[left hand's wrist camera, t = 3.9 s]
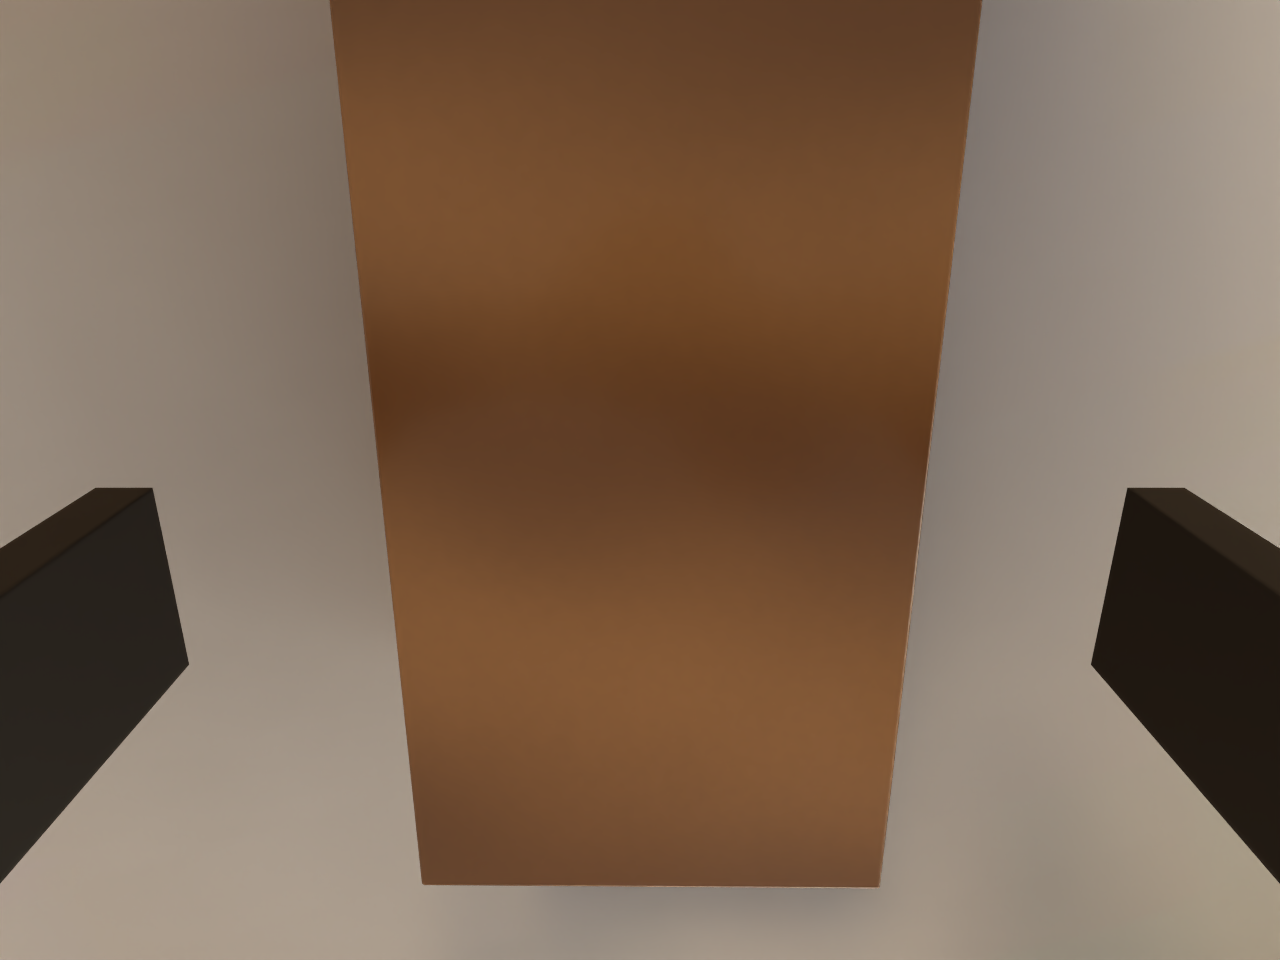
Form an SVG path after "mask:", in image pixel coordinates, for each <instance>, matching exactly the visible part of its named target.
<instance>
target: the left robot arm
mask: <svg viewBox="0 0 1280 960" xmlns="http://www.w3.org/2000/svg"><path fill="white" fill-rule="evenodd" d="M188 665H189V662H188V657H187V652H186V648H185V643H184V638H183V633H182V628H181V623H180V618H179V614H178V609H177V604H176V599H175V594H174V589H173V585H172V580H171V575H170V570H169V565H168V560H167V556H166V551H165V546H164V541H163V536H162V531H161V527H160V522H159V517H158V512H157V507H156V502H155V498H154V493H153V488H95V489H93V490H92V491H90V492H88V493H87V494H85V495H84V496H82V497H81V498H79V499H77V500H76V501H74V502H73V503H71V504H70V505H68V506H66V507H65V508H63V509H62V510H60V511H58V512H57V513H55V514H54V515H52V516H51V517H49V518H47V519H46V520H44V521H43V522H41V523H40V524H38V525H36V526H35V527H33V528H32V529H30V530H29V531H27V532H25V533H24V534H22V535H21V536H19V537H18V538H16V539H14V540H13V541H11V542H10V543H8V544H7V545H5V546H3V547H2V548H0V883H1V882H2V881H3V880H4V878H5V877H6V876H7V875H8V874H9V873H10V872H11V870H12V869H13V868H14V867H15V866H16V865H17V863H18V862H19V861H20V860H21V859H22V858H23V856H24V855H25V854H26V853H27V852H28V851H29V849H30V848H31V847H32V846H33V845H34V844H35V843H36V841H37V840H38V839H39V838H40V837H41V836H42V834H43V833H44V832H45V831H46V830H47V829H48V827H49V826H50V825H51V824H52V823H53V822H54V820H55V819H56V818H57V817H58V816H59V815H60V814H61V812H62V811H63V810H64V809H65V808H66V807H67V805H68V804H69V803H70V802H71V801H72V800H73V798H74V797H75V796H76V795H77V794H78V793H79V792H80V790H81V789H82V788H83V787H84V786H85V785H86V783H87V782H88V781H89V780H90V779H91V778H92V776H93V775H94V774H95V773H96V772H97V771H98V769H99V768H100V767H101V766H102V765H103V764H104V763H105V761H106V760H107V759H108V758H109V757H110V756H111V754H112V753H113V752H114V751H115V750H116V749H117V747H118V746H119V745H120V744H121V743H122V742H123V740H124V739H125V738H126V737H127V736H128V735H129V734H130V732H131V731H132V730H133V729H134V728H135V727H136V725H137V724H138V723H139V722H140V721H141V720H142V718H143V717H144V716H145V715H146V714H147V713H148V711H149V710H150V709H151V708H152V707H153V706H154V705H155V703H156V702H157V701H158V700H159V699H160V698H161V696H162V695H163V694H164V693H165V692H166V691H167V689H168V688H169V687H170V686H171V685H172V684H173V683H174V681H175V680H176V679H177V678H178V677H179V676H180V674H181V673H182V672H183V671H184V670H185V669H186V667H187V666H188ZM1091 665H1092V666H1093V667H1094V669H1095V670H1096V671H1097V672H1098V673H1099V674H1100V676H1101V677H1102V678H1103V679H1104V680H1105V681H1106V683H1107V684H1108V685H1109V686H1110V687H1111V688H1112V689H1113V691H1114V692H1115V693H1116V694H1117V695H1118V696H1119V698H1120V699H1121V700H1122V701H1123V702H1124V703H1125V705H1126V706H1127V707H1128V708H1129V709H1130V710H1131V711H1132V713H1133V714H1134V715H1135V716H1136V717H1137V718H1138V720H1139V721H1140V722H1141V723H1142V724H1143V725H1144V727H1145V728H1146V729H1147V730H1148V731H1149V732H1150V734H1151V735H1152V736H1153V737H1154V738H1155V739H1156V740H1157V742H1158V743H1159V744H1160V745H1161V746H1162V747H1163V749H1164V750H1165V751H1166V752H1167V753H1168V754H1169V756H1170V757H1171V758H1172V759H1173V760H1174V761H1175V763H1176V764H1177V765H1178V766H1179V767H1180V768H1181V769H1182V771H1183V772H1184V773H1185V774H1186V775H1187V776H1188V778H1189V779H1190V780H1191V781H1192V782H1193V783H1194V785H1195V786H1196V787H1197V788H1198V789H1199V790H1200V792H1201V793H1202V794H1203V795H1204V796H1205V797H1206V798H1207V800H1208V801H1209V802H1210V803H1211V804H1212V805H1213V807H1214V808H1215V809H1216V810H1217V811H1218V812H1219V814H1220V815H1221V816H1222V817H1223V818H1224V819H1225V820H1226V822H1227V823H1228V824H1229V825H1230V826H1231V827H1232V829H1233V830H1234V831H1235V832H1236V833H1237V834H1238V836H1239V837H1240V838H1241V839H1242V840H1243V841H1244V843H1245V844H1246V845H1247V846H1248V847H1249V848H1250V849H1251V851H1252V852H1253V853H1254V854H1255V855H1256V856H1257V858H1258V859H1259V860H1260V861H1261V862H1262V863H1263V865H1264V866H1265V867H1266V868H1267V869H1268V870H1269V872H1270V873H1271V874H1272V875H1273V876H1274V877H1275V878H1276V880H1277V881H1278V882H1279V883H1280V548H1278V547H1277V546H1275V545H1273V544H1272V543H1270V542H1269V541H1267V540H1266V539H1264V538H1262V537H1261V536H1259V535H1258V534H1256V533H1255V532H1253V531H1251V530H1250V529H1248V528H1247V527H1245V526H1244V525H1242V524H1240V523H1239V522H1237V521H1236V520H1234V519H1233V518H1231V517H1229V516H1228V515H1226V514H1225V513H1223V512H1222V511H1220V510H1218V509H1217V508H1215V507H1214V506H1212V505H1210V504H1209V503H1207V502H1206V501H1204V500H1203V499H1201V498H1199V497H1198V496H1196V495H1195V494H1193V493H1192V492H1190V491H1188V490H1187V489H1185V488H1127V493H1126V498H1125V502H1124V507H1123V512H1122V517H1121V522H1120V527H1119V531H1118V536H1117V541H1116V546H1115V551H1114V556H1113V560H1112V565H1111V570H1110V575H1109V580H1108V585H1107V589H1106V594H1105V599H1104V604H1103V609H1102V614H1101V618H1100V623H1099V628H1098V633H1097V638H1096V643H1095V648H1094V652H1093V657H1092V662H1091Z"/></svg>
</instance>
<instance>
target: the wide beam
mask: <svg viewBox="0 0 1280 960" xmlns="http://www.w3.org/2000/svg"><path fill="white" fill-rule="evenodd" d="M981 7H982V0H330V9H331V19H332V29H333V38H334V48H335V57H336V67H337V76H338V86H339V95H340V105H341V114H342V124H343V134H344V143H345V153H346V162H347V172H348V181H349V191H350V200H351V210H352V219H353V229H354V239H355V248H356V258H357V267H358V277H359V286H360V296H361V305H362V315H363V324H364V334H365V344H366V353H367V363H368V372H369V382H370V391H371V401H372V410H373V420H374V429H375V439H376V449H377V458H378V468H379V477H380V487H381V496H382V506H383V515H384V525H385V534H386V544H387V554H388V563H389V573H390V582H391V592H392V601H393V611H394V620H395V630H396V639H397V649H398V659H399V668H400V678H401V687H402V697H403V706H404V716H405V725H406V735H407V744H408V754H409V764H410V773H411V783H412V792H413V802H414V811H415V821H416V830H417V840H418V849H419V859H420V869H421V878H422V884H423V885H501V886H626V887H751V888H876V889H877V888H879V887H880V880H881V871H882V862H883V854H884V845H885V836H886V828H887V819H888V811H889V802H890V793H891V785H892V776H893V767H894V759H895V750H896V741H897V733H898V724H899V715H900V707H901V698H902V689H903V681H904V672H905V664H906V655H907V646H908V638H909V629H910V620H911V612H912V603H913V594H914V586H915V577H916V568H917V560H918V551H919V543H920V534H921V525H922V517H923V508H924V499H925V491H926V482H927V473H928V465H929V456H930V447H931V439H932V430H933V422H934V413H935V404H936V396H937V387H938V378H939V370H940V361H941V352H942V344H943V335H944V326H945V318H946V309H947V301H948V292H949V283H950V275H951V266H952V257H953V249H954V240H955V231H956V223H957V214H958V205H959V197H960V188H961V180H962V171H963V162H964V154H965V145H966V136H967V128H968V119H969V110H970V102H971V93H972V84H973V76H974V67H975V59H976V50H977V41H978V33H979V24H980V15H981Z"/></svg>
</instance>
